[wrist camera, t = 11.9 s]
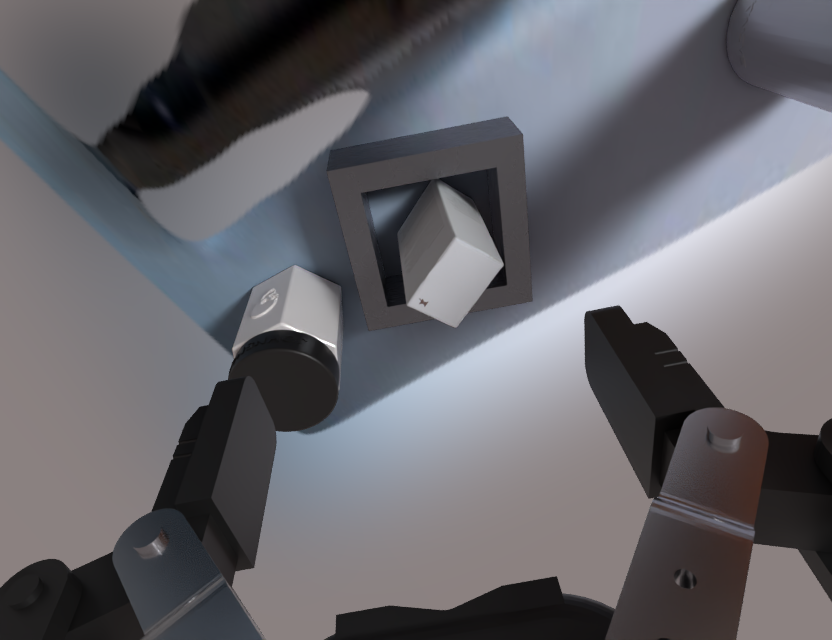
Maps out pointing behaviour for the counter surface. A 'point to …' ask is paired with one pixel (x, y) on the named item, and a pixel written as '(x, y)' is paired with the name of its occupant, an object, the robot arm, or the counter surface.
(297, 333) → the jar
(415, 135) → the socket block
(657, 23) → the counter surface
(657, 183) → the counter surface
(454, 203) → the skincare box
